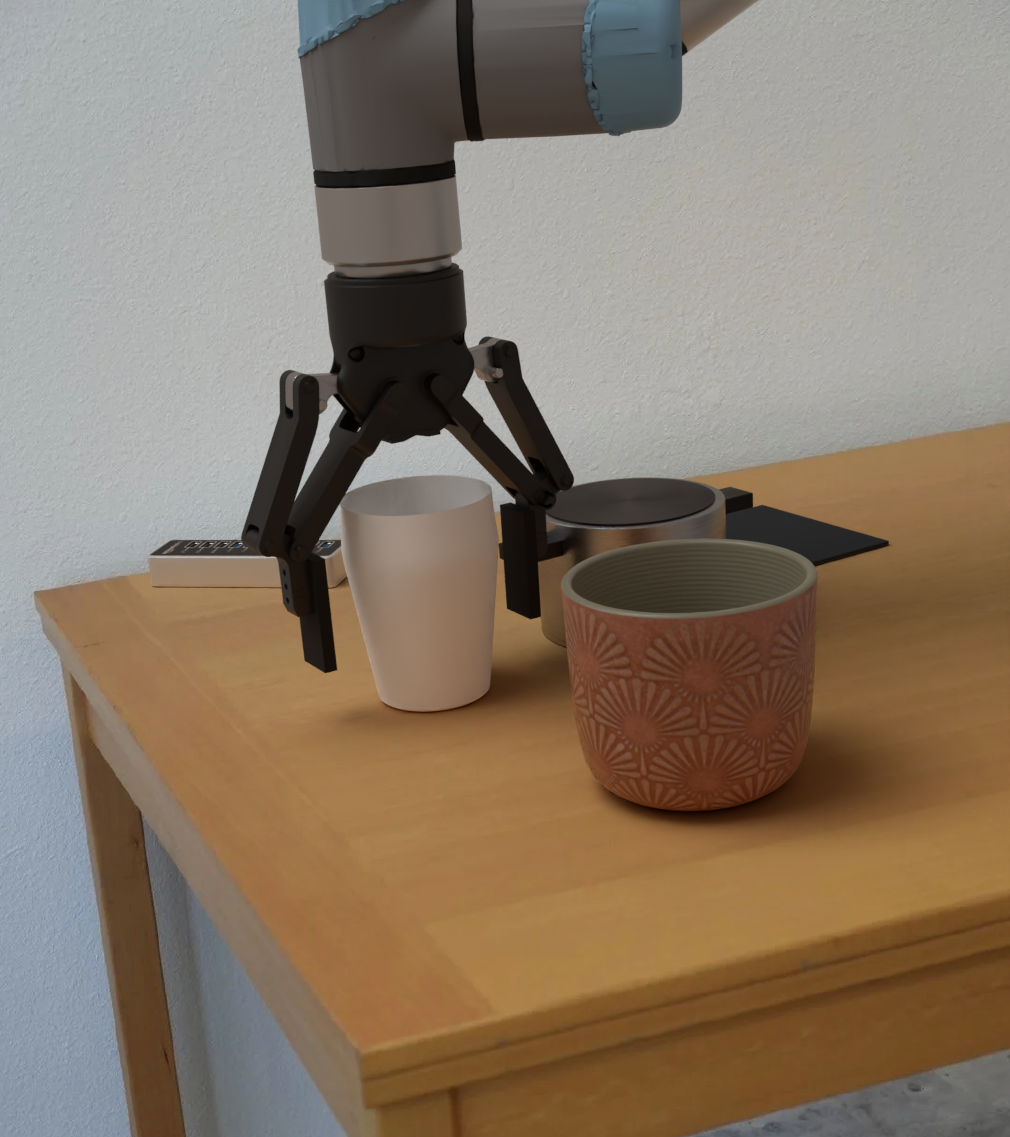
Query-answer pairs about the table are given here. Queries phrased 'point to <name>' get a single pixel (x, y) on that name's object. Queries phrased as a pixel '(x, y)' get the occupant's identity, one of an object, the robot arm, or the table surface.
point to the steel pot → (624, 526)
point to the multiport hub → (229, 564)
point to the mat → (798, 534)
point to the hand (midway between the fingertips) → (425, 639)
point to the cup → (424, 586)
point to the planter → (692, 669)
